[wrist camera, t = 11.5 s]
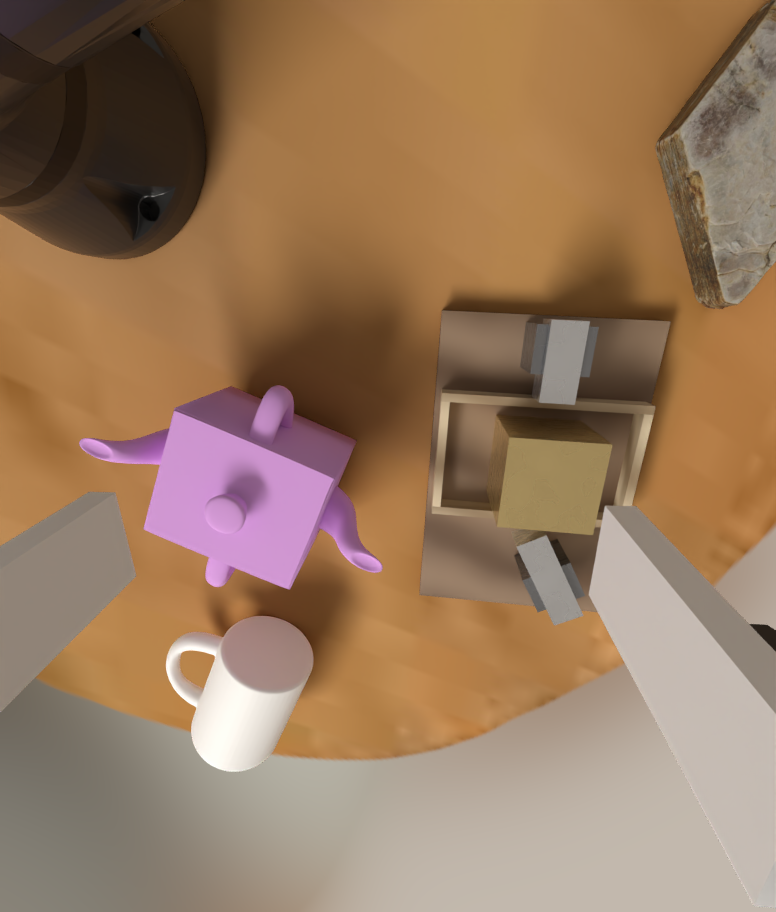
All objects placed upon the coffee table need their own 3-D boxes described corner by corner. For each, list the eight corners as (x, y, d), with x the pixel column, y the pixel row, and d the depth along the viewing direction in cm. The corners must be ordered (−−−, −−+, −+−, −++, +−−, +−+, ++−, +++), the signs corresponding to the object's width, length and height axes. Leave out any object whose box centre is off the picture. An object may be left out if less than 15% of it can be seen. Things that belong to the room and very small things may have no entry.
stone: (634, 80, 27) (658, 53, 24) (784, -1, 25) (830, -42, 22) (695, 315, 30) (723, 316, 28) (830, 258, 29) (875, 253, 26)
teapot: (232, 549, 40) (163, 633, 29) (165, 407, 36) (59, 446, 26) (395, 506, 37) (381, 583, 27) (340, 348, 33) (300, 366, 23)
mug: (323, 635, 42) (299, 707, 34) (289, 707, 45) (260, 787, 37) (204, 585, 41) (153, 647, 34) (178, 662, 44) (127, 734, 37)
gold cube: (495, 414, 32) (509, 437, 27) (580, 420, 32) (612, 444, 26) (486, 490, 34) (496, 527, 29) (566, 497, 34) (593, 535, 28)
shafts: (526, 317, 30) (539, 318, 26) (621, 322, 30) (648, 324, 26) (489, 588, 37) (495, 619, 33) (565, 595, 36) (580, 627, 33)
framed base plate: (441, 310, 32) (442, 310, 29) (661, 320, 30) (682, 322, 28) (419, 586, 39) (419, 606, 36) (596, 603, 38) (608, 624, 35)
